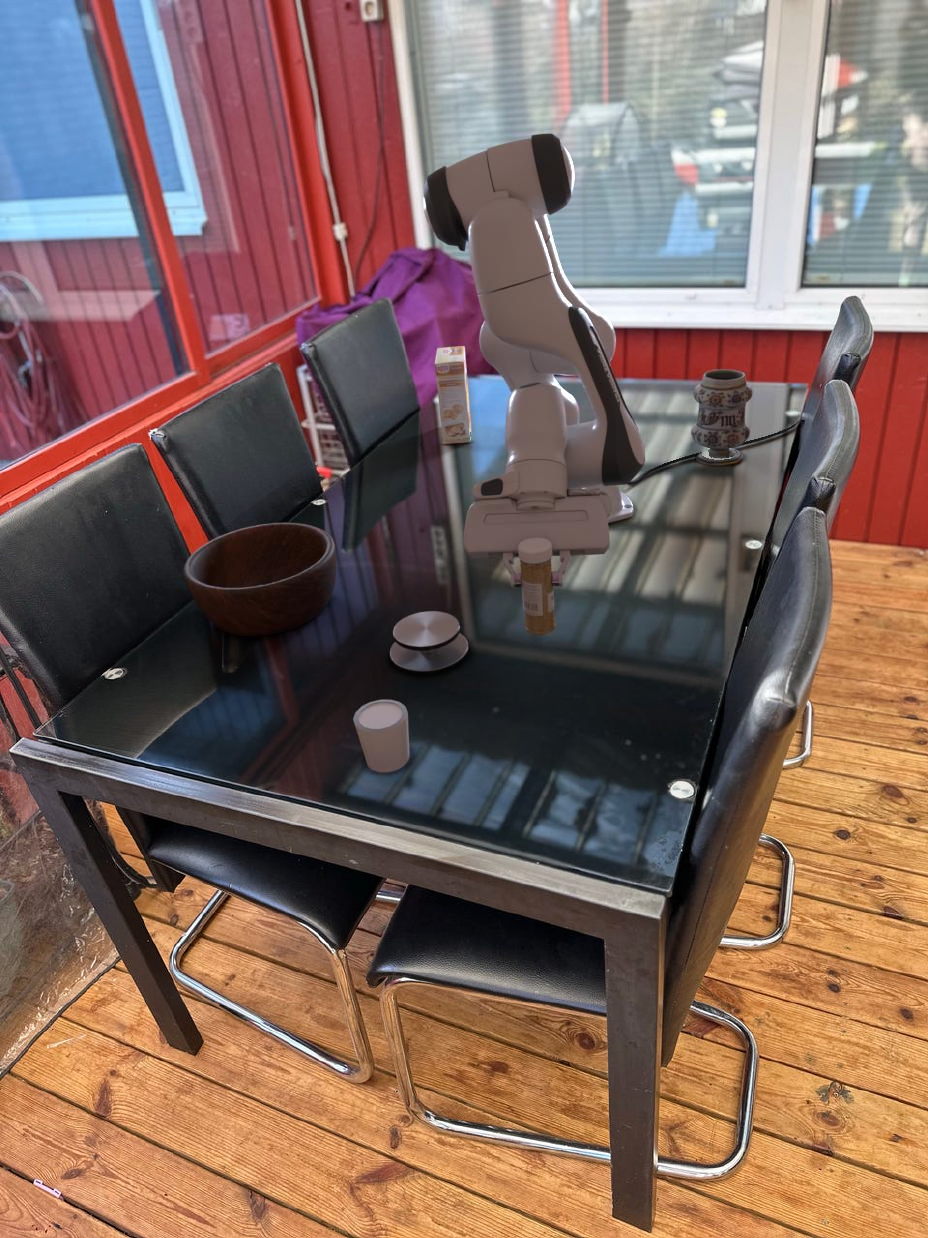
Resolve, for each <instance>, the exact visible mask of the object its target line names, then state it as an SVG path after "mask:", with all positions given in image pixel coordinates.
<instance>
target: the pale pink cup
mask: <svg viewBox="0 0 928 1238" xmlns="http://www.w3.org/2000/svg"><path fill="white" fill-rule="evenodd" d="M352 720H353V723H354V726H355V730H356V733H357V736H358V739H359V743H360V746H361V749H362V752H363V755H364V758H365V762H366V765H367V767H368V768H369V769H370V770H372V771H374V772H377V773H392V772H395V771H398V770H400V769H402V768H403V767H405V765H406V764H407V763H408V762H409V759H410V739H409V738H410V736H409V735H410V734H409V732H410V731H409V713H408V710H407V707H406V706H405V704H403V703H401V702H400V701H397V700H393V699H377V700H374V701H370V702H368V703H366V704H363V705H362V706H360V708H359V709H358V710H356V711H355V713H354V716H353V718H352Z"/></svg>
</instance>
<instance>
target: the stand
mask: <svg viewBox="0 0 928 1238" xmlns="http://www.w3.org/2000/svg"><path fill="white" fill-rule="evenodd" d="M460 631H461V626H460V621H459V620H458V619H457V618H456V617H455V616H453V615H452V614H450V613H447V612H445V611H444V612H443V611H435V610H433V611H432V610H429V611H420V612H416V613H413V614H410V615H408V616H405V617H403V618H402V619H401V620H399V621H398V622H397V623H396V624H395V626H394V628H393V631H392V633H393V634H392V635H393V639H394V642H393V643H392V645H391V647H390V649H389V658H390V662H391V664H392V665H393V666H394V667H395V668H396V670H398V671H401V672H403V673H406V674H409V675H415V676H416V675H417V676H432V675H437V674H441V673H444V672H447V671H450V670H452V669H454V668H456V667H458V666H459V665H461V664H462V663H463V662H464V661H465V659H466V658H467V656H468V654H469V649H470V648H469V647H470V646H469V642H468V639H467V638H466V637H465V636H464V635H463V634H462V633H461V632H460Z"/></svg>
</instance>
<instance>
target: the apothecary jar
mask: <svg viewBox="0 0 928 1238" xmlns="http://www.w3.org/2000/svg"><path fill="white" fill-rule="evenodd" d="M753 394H754V393H753V389H752V386H751V385H750V383H748V382H747V379H746V374H745V373H744V372H743V371H740V370H737V369H725V368H721V369H718V368H717V369H711V370H708V371H706V372H704V373H703V375H702V380H701V382H700V383H698V384H697V385H696V386H695V388H694V390H693V398H694V400H695V402H696V403H698V411H697V421H696V422H695V423H694V424H693V425H692V427H691V429H690V436H691V438H692V440H693V441H694V442H695V443H697V444H698V445H700V446H701V447H704V448H710V449H709V450H708V452H709V456H710V457H711V458H712V457H713V458H721V459H722V458H729V457H733V456H734V455H735V454H736V451H737V452H738V455H737V456H736V457H734V458H731V459H724V460H714V459H709V458H706V457H704V456H702V453H700V454H698V455H697V456H696V457H694V458H695V460H696V461H697V462H698V463H700V464H703V465H709V466H729V465H733V464H736V463H739V462H741V461H742V460H743V458H744V455H743V453H742V452H741V451H740V450H738V449H736V448H737V447H736V446H738V445H741V444H742V443H744V442H745V441H746V440H749V437H750V435H751V429H750V426H749V425H748V423H747V422H746V407H747V403H748V402H749V401H750V400H751V399H752V397H753ZM732 447H735V448H733V449H734V450H736V451H734V450H732V449H729V448H732ZM703 450H704V449H702V450H700V451H703Z"/></svg>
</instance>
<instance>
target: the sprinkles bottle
mask: <svg viewBox="0 0 928 1238" xmlns="http://www.w3.org/2000/svg"><path fill="white" fill-rule="evenodd" d="M518 554H519V557H518V559H519V562H520V572H521V581H522V587H521V595H522V596H521V597H522V608H523V615H524V624H523V626H524V629H525V631H526V633H528V634H531V635H536V636H544V635H548V634H550V633H552V632H553V631H554V630H555V629H556V627H557V622H556V616H555V594H554V586H552V571H553V570H552V569H553V568H552V557H553V556H552V544H551V542H550V541H549V540H547V539H545V538H539V537H534V538H528V539H525V540H523V541H522V542H520V544H519V546H518Z"/></svg>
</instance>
